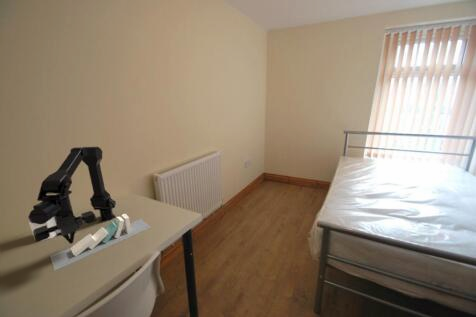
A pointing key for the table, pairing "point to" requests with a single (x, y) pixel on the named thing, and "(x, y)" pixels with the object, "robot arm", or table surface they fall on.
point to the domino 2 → (98, 237)
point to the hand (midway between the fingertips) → (71, 242)
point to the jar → (48, 223)
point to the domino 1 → (82, 244)
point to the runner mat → (68, 257)
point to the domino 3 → (110, 231)
